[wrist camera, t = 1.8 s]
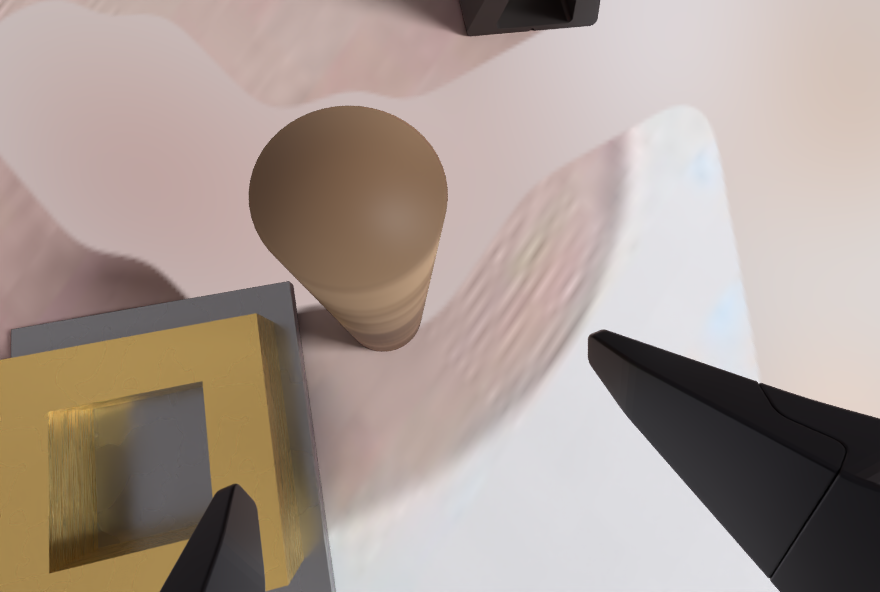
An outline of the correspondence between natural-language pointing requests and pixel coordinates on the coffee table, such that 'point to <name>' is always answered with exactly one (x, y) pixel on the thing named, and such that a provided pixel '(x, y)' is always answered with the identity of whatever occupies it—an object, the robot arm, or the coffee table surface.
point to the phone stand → (526, 15)
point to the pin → (354, 216)
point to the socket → (157, 443)
